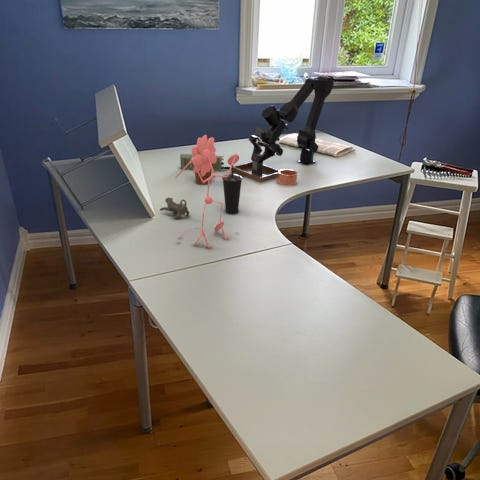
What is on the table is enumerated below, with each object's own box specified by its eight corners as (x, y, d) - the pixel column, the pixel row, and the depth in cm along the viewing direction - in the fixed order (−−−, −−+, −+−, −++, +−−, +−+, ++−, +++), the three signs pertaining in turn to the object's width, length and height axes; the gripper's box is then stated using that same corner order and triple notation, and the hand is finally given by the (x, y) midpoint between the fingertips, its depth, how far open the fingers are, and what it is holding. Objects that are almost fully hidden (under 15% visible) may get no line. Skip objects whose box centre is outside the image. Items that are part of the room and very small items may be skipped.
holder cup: (286, 178, 224) (287, 168, 221) (299, 183, 219) (301, 172, 216) (274, 182, 219) (274, 171, 217) (287, 187, 215) (288, 176, 212)
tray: (253, 166, 237) (253, 161, 236) (282, 177, 226) (282, 171, 224) (231, 172, 229) (231, 166, 228) (260, 183, 218) (260, 178, 216)
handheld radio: (181, 166, 234) (233, 169, 232) (180, 169, 232) (232, 172, 230) (181, 153, 230) (233, 155, 228) (179, 155, 227) (233, 158, 226)
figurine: (242, 232, 177) (246, 131, 157) (194, 257, 160) (191, 149, 140) (210, 220, 184) (209, 123, 164) (161, 243, 168) (153, 138, 147)
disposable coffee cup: (197, 187, 213) (196, 159, 206) (189, 180, 220) (188, 153, 213) (217, 183, 216) (217, 156, 209) (208, 177, 223) (208, 150, 216)
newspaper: (277, 143, 270) (278, 138, 269) (297, 136, 283) (298, 131, 281) (335, 157, 252) (336, 152, 250) (354, 149, 264) (354, 144, 262)
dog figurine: (192, 217, 187) (191, 198, 182) (181, 221, 183) (181, 203, 179) (169, 209, 192) (168, 190, 188) (159, 213, 189) (157, 194, 184)
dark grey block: (255, 171, 229) (256, 152, 224) (262, 174, 226) (263, 155, 221) (251, 173, 228) (251, 153, 223) (257, 175, 225) (258, 156, 220)
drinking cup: (221, 208, 194) (221, 157, 183) (240, 207, 195) (241, 157, 183) (222, 215, 188) (222, 164, 177) (242, 215, 189) (243, 163, 177)
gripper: (252, 116, 222) (232, 145, 223) (280, 125, 210) (259, 155, 211) (264, 132, 230) (245, 159, 231) (291, 141, 219) (272, 170, 219)
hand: (255, 161), depth 223 cm, fingers closed on dark grey block, 5 cm apart
